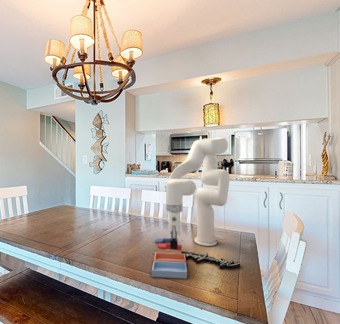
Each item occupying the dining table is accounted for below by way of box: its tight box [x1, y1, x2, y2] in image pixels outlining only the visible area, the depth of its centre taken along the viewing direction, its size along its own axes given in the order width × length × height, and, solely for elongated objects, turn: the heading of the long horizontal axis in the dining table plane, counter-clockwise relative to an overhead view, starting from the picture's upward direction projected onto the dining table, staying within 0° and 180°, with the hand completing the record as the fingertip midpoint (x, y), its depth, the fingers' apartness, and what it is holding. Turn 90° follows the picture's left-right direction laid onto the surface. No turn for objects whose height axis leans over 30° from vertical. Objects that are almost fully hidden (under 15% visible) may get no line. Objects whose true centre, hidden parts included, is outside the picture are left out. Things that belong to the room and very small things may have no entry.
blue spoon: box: [155, 237, 171, 245], centre depth 120 cm, size 11×4×2 cm, turn 85°
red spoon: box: [156, 243, 183, 252], centre depth 96 cm, size 11×4×2 cm, turn 85°
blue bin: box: [151, 260, 188, 280], centre depth 88 cm, size 14×8×3 cm, turn 85°
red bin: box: [153, 252, 187, 263], centre depth 97 cm, size 14×8×3 cm, turn 85°
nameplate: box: [180, 250, 241, 270], centre depth 98 cm, size 27×2×10 cm
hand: (173, 247), depth 96 cm, fingers closed on red spoon, 1 cm apart
